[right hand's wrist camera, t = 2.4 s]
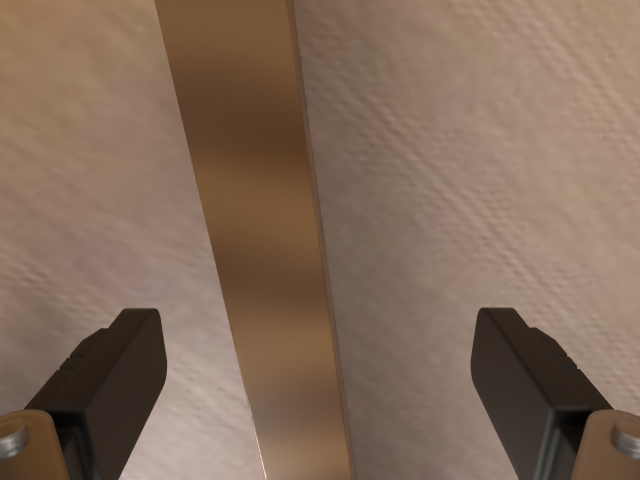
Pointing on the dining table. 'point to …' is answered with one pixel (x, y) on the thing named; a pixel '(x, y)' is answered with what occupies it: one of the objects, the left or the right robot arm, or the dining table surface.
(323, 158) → the dining table surface
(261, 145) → the beam
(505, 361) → the right robot arm
